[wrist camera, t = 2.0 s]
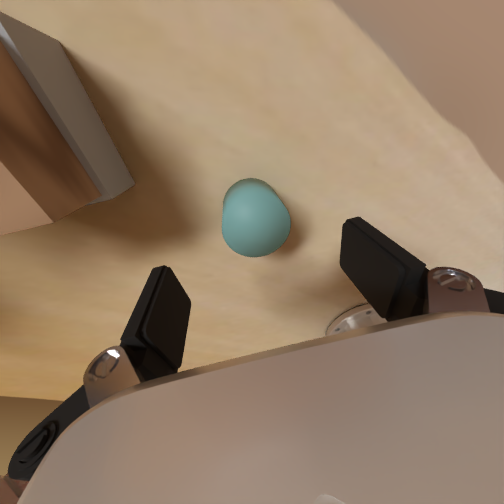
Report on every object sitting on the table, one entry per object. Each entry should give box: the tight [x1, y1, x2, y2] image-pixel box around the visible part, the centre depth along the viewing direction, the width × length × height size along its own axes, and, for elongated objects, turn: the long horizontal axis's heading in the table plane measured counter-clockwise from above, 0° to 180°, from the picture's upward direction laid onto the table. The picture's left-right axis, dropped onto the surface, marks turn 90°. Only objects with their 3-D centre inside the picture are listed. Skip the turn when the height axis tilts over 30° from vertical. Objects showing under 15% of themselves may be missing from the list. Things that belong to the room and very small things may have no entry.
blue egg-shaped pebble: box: [222, 178, 291, 257], centre depth 17 cm, size 6×6×5 cm
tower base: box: [0, 12, 135, 206], centre depth 13 cm, size 9×9×4 cm
